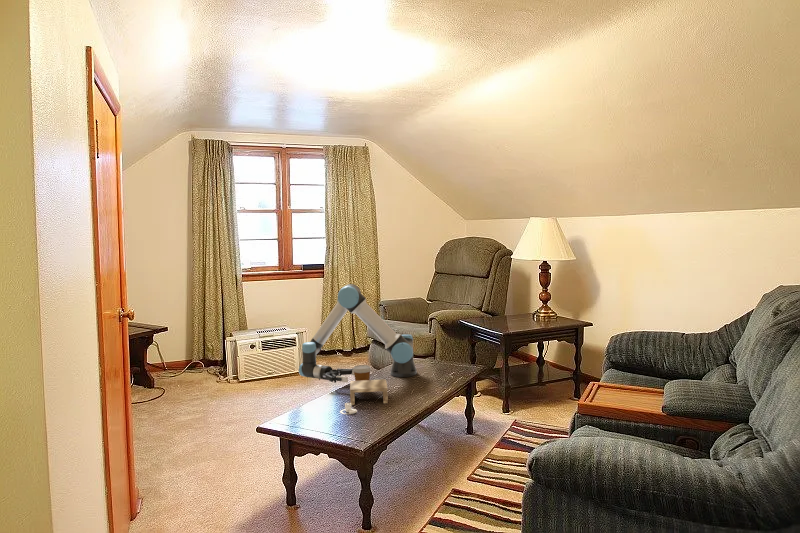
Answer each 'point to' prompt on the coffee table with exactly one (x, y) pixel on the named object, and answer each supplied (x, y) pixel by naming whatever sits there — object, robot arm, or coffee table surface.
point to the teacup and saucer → (348, 409)
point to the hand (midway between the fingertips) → (354, 376)
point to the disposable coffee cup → (362, 372)
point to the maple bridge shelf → (368, 388)
